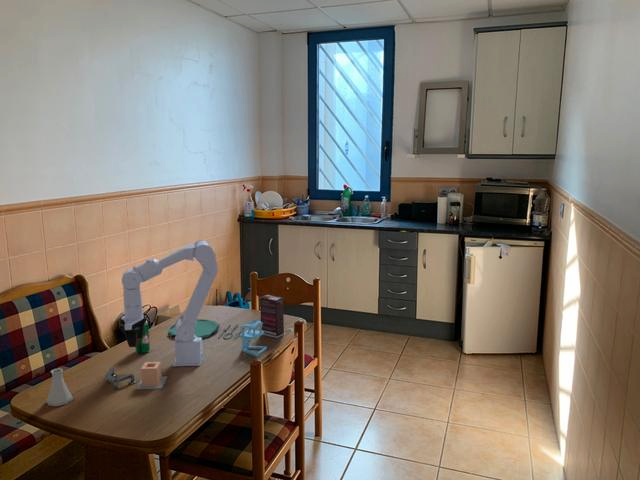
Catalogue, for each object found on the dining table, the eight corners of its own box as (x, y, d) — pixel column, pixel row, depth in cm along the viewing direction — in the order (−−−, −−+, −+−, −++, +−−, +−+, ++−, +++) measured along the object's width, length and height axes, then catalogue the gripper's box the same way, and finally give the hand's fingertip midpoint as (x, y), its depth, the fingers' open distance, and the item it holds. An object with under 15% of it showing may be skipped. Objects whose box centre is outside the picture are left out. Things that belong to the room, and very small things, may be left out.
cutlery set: (181, 321, 223) (181, 317, 223) (248, 326, 219) (248, 321, 218) (161, 339, 204) (160, 334, 203) (233, 345, 200) (233, 340, 199)
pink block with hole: (161, 378, 169) (160, 361, 168) (157, 385, 164) (156, 368, 163) (146, 379, 169) (145, 362, 168) (142, 386, 164) (140, 368, 163)
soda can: (145, 354, 189) (143, 324, 186) (133, 353, 190) (130, 323, 187) (152, 349, 194) (150, 319, 191) (140, 348, 195) (138, 318, 192)
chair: (248, 345, 197) (247, 316, 195) (267, 349, 194) (266, 319, 192) (237, 353, 190) (236, 322, 188) (256, 356, 187) (255, 325, 185)
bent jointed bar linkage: (141, 373, 173) (141, 365, 173) (132, 388, 163) (131, 380, 162) (110, 374, 173) (109, 366, 172) (98, 389, 162) (98, 381, 162)
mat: (167, 377, 171) (167, 376, 171) (161, 388, 163) (161, 387, 163) (143, 377, 170) (143, 377, 170) (136, 389, 163) (136, 388, 163)
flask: (55, 409, 151) (52, 378, 149) (41, 403, 154) (38, 372, 152) (78, 399, 157) (75, 368, 155) (64, 393, 160) (61, 363, 158)
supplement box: (284, 335, 208) (284, 297, 205) (277, 338, 204) (276, 300, 201) (267, 330, 213) (267, 294, 210) (260, 334, 209) (259, 297, 206)
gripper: (127, 298, 180) (130, 334, 183) (114, 311, 166) (117, 351, 169) (147, 297, 181) (150, 334, 183) (136, 311, 167) (138, 350, 169)
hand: (135, 342), depth 176 cm, fingers open, 7 cm apart
